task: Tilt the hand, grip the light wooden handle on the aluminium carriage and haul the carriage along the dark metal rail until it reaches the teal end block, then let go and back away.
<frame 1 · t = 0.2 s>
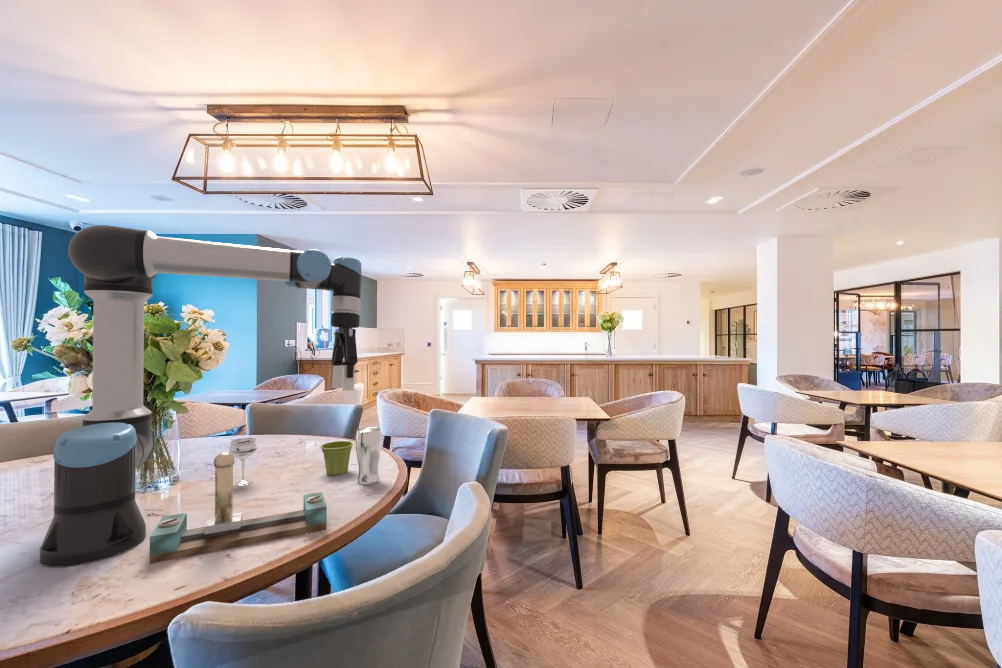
hand: (342, 389, 118), 27 cm above the table, tool pointing down, fingers open, 13 cm apart
wineglass: (242, 483, 122), on the table
rail track: (246, 535, 89), on the table
plant pot: (337, 473, 131), on the table
carriage: (224, 489, 87), point 10 cm above the table, slide at 0.0 cm
beer glass: (368, 482, 123), on the table
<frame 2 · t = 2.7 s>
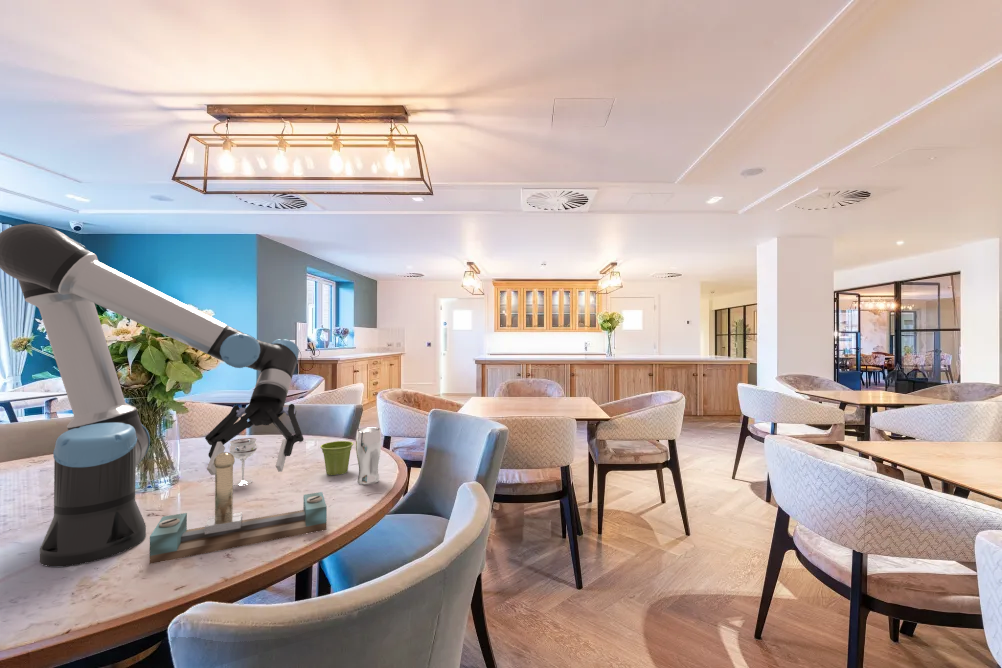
hand: (245, 470, 92), 13 cm above the table, tool tilted 45°, fingers open, 13 cm apart
nothing on the table moved.
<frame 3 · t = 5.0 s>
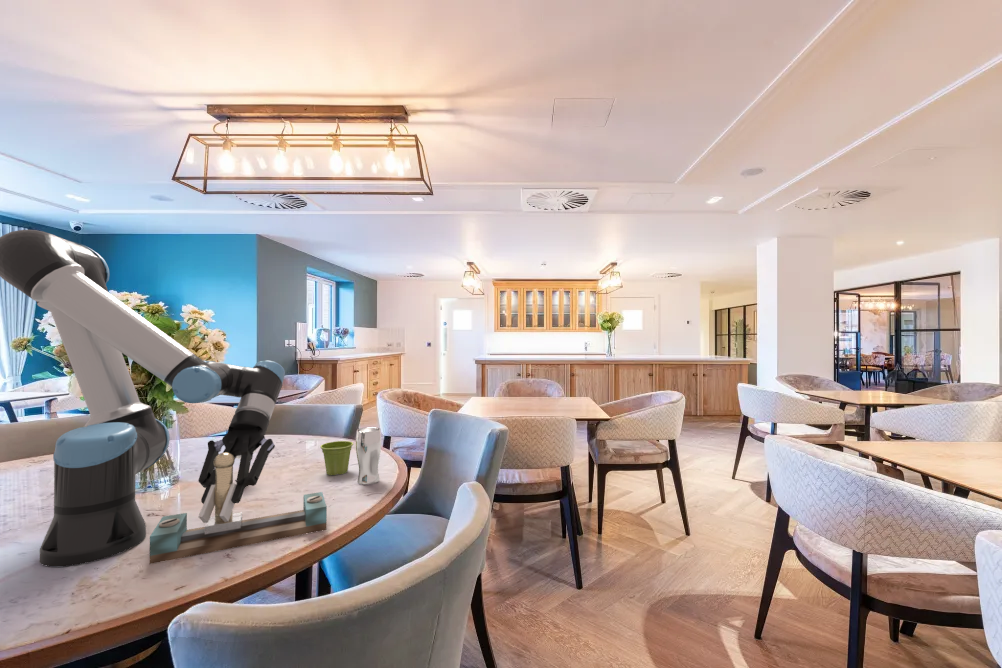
hand: (213, 519, 82), 6 cm above the table, tool tilted 45°, fingers closed on carriage, 3 cm apart
carriage: (224, 489, 87), point 10 cm above the table, slide at 0.0 cm, touching gripper
everything else where it was.
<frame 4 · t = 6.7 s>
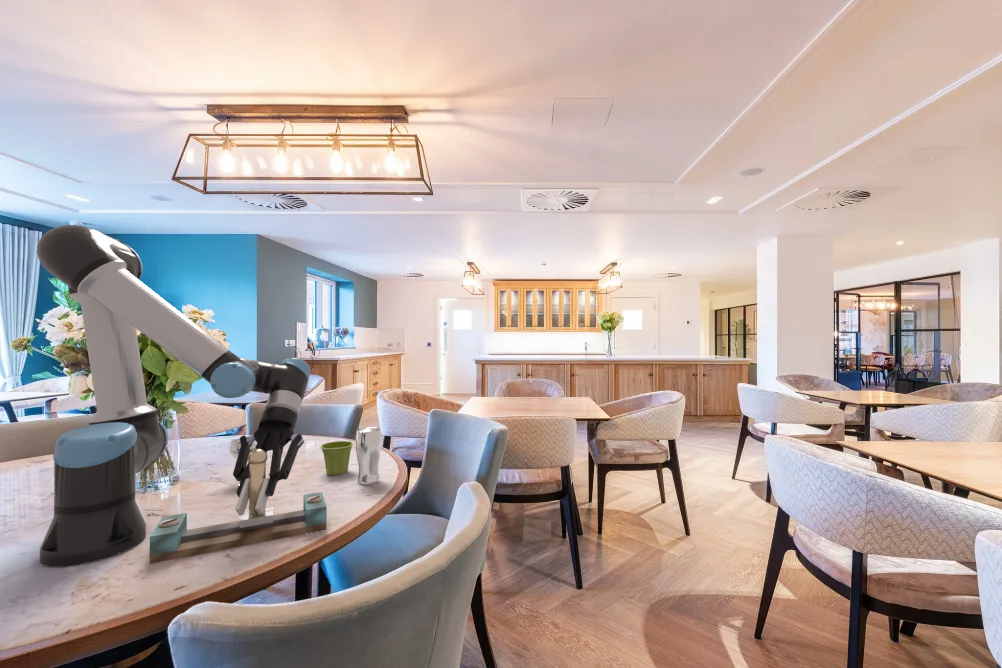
hand: (249, 511, 85), 6 cm above the table, tool tilted 45°, fingers closed on carriage, 3 cm apart
carriage: (257, 484, 90), point 10 cm above the table, slide at 5.9 cm, touching gripper
everything else where it was.
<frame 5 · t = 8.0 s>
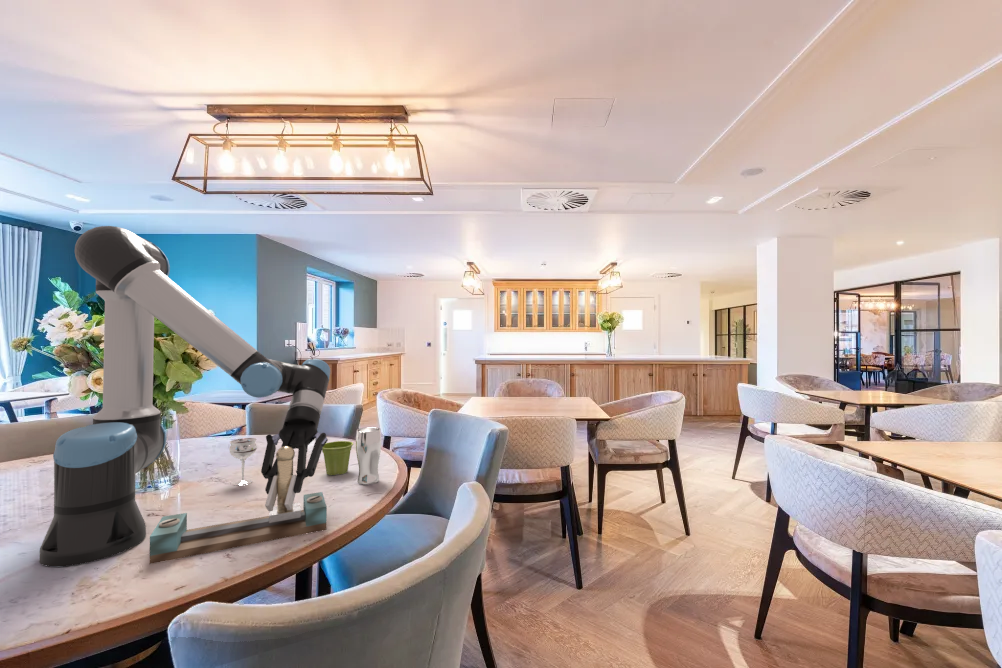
hand: (278, 507, 88), 6 cm above the table, tool tilted 45°, fingers closed on carriage, 3 cm apart
carriage: (285, 480, 92), point 10 cm above the table, slide at 11.1 cm, touching gripper
everything else where it was.
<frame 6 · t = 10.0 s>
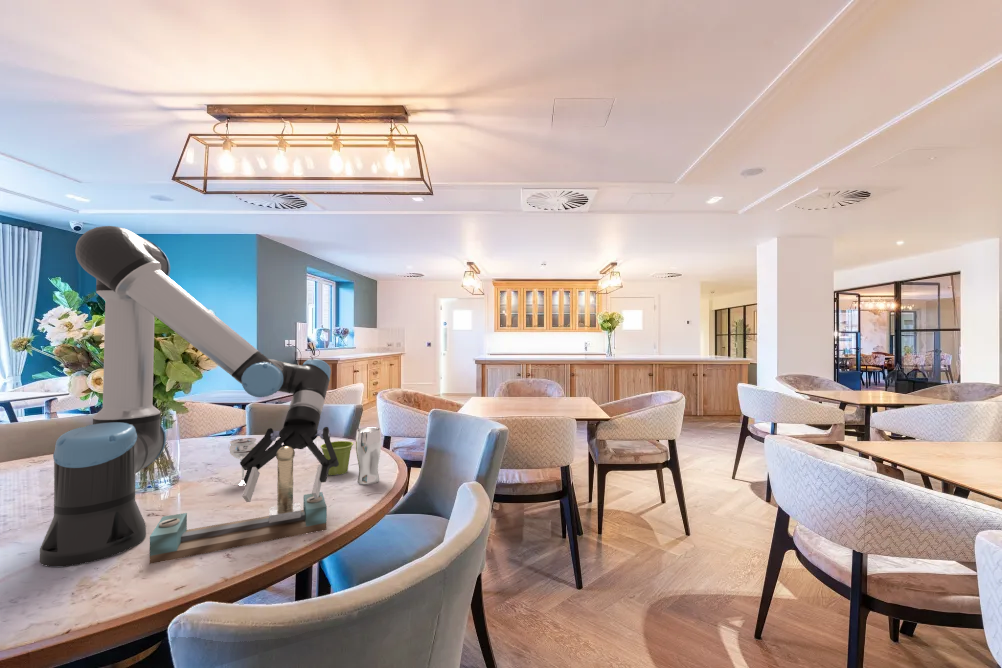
hand: (280, 497, 89), 8 cm above the table, tool tilted 45°, fingers open, 13 cm apart
carriage: (285, 480, 92), point 10 cm above the table, slide at 11.1 cm
everything else where it was.
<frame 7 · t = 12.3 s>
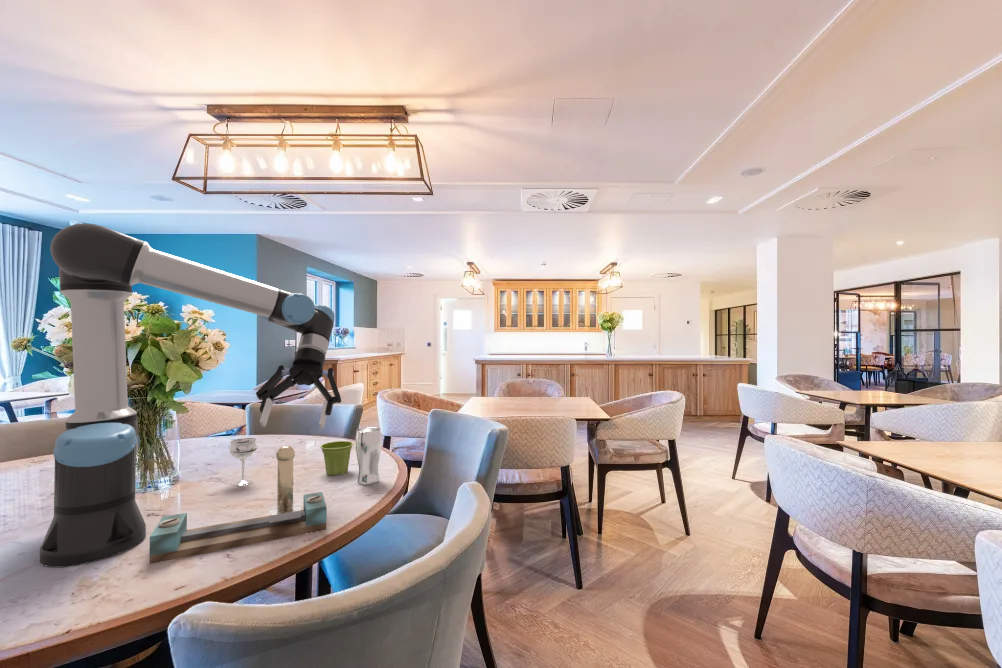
hand: (292, 425, 105), 20 cm above the table, tool tilted 35°, fingers open, 13 cm apart
nothing on the table moved.
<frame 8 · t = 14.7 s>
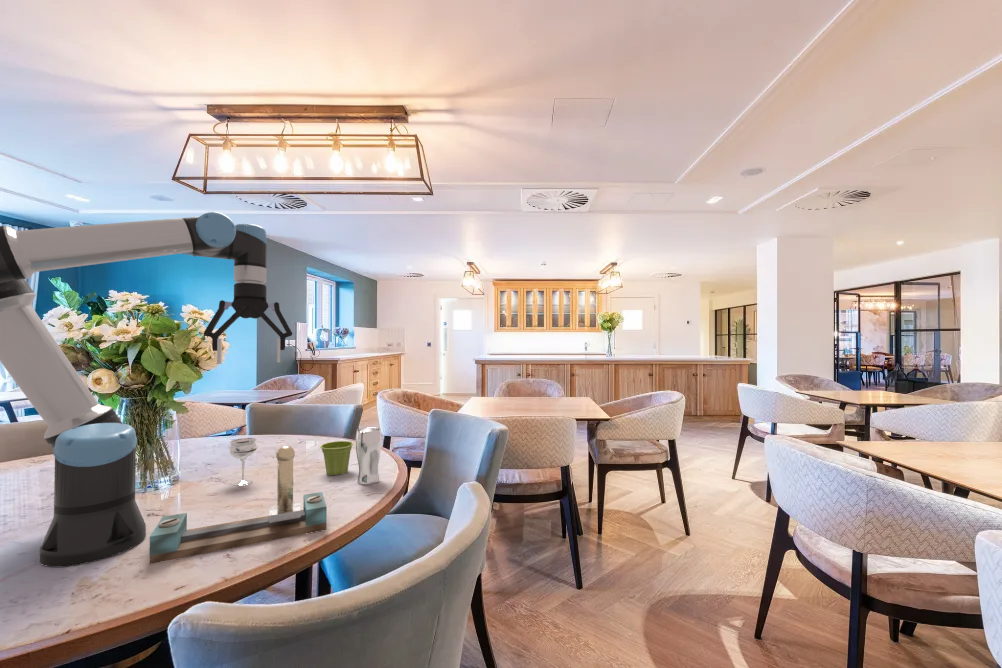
hand: (249, 363, 114), 35 cm above the table, tool pointing down, fingers open, 13 cm apart
nothing on the table moved.
at the end: carriage slide at 11.1 cm; the gripper is holding nothing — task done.
